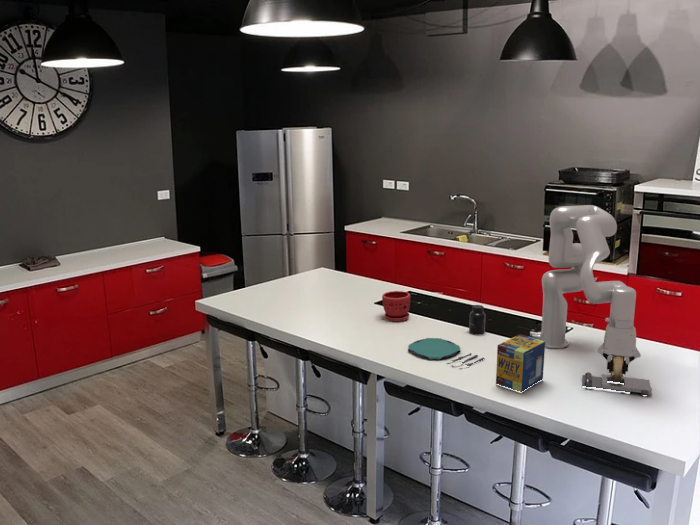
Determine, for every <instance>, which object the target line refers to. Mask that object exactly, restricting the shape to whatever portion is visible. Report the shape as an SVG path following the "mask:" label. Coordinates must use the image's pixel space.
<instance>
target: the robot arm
mask: <svg viewBox="0 0 700 525" xmlns="http://www.w3.org/2000/svg"><path fill="white" fill-rule="evenodd" d="M549 228H550V239H549V247H548V264H549V265H550V266H551V267H552V268H556V269H554V270H548V271H546V272H545V273H543V275H542V277H541V286H542V294H543V295H542V302H543V303H542V314H541V316H542V318H541V330H540V331H538V332H536V331H530V332H529V337H532V338H535V339H539V340H542V341H545V349H550V348H562V349H565V348H564V347H566V348H567V346H568V347H569V345H570V344H569V341H568V339H566V330H567V316H568V302H567V300H566V298H565V297H564V295H563V294H567V293H576V292H581V291H583V294H584V296H585V298H586V299H587V301H588V302H589V303H590V304H594V305H596V304H608V303H610V312H609V317H605V319H604V320H605V321H604V322H605V323H606V322H607V325H606V327H605V332H604V338H603V342H602V344H601V345H600V346H599V347H598V348H597V349H596V350H597V353H598V354H599V355H601V356H602V357H603V358H604V359H605V360H606V362H607V363H606V370H607V371H608V373H609V374H611V369H612V355H616V356H625V359H624V369H623V376H624V375H625V376H626V373H628V372H629V365H630V363H631V362H633V361H634V360H636V359H639V358H641V357H642V356H641V353H640V351H639V349H638V348H637V331H636V330H637V329H636V327H635V326H634V321H635V311H636V300H637V291H636V290H635V289H634V288H632V287H631V286H628V285H626V284H625V283H624V282H622V281H621V280H609V281H608V280H607V281H605V280H603V281H596V280H595V277H594V272H593V271H594V270H593V269H594V266H595V265H597V263H600V262H601V261H603V260H605V259H607V258H608V257H609V255H610V253H611V251H610V250H611V249H610V247H609V245H608V242H607V239H606V238H607V237H608V238H609V237H612V236H614V235H615V234H616V233H617V230H618V225H617V221H616V219H615V217H614V216H613V215H612V214H611V213H609V212H608V211H605V210H604V209H602V208H601V207H599V206H596V205H593V204H591V205H590V204H586V205H585V204H584V205H563V206H558V207H555V208H553V210H552V211H551V212H550V216H549ZM572 229H576V233H577V235H578V239H579V241H580V243H578V242H575V243H573V241H574V232H573V231H572ZM563 268H564V269H563ZM566 268H567V269H566Z"/></svg>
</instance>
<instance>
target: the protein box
mask: <svg viewBox="0 0 700 525" xmlns="http://www.w3.org/2000/svg"><path fill="white" fill-rule="evenodd" d="M545 349H546V347H545V341H542V340H539V339H538V338H533V336H527V335H524V334H522V333H521V334H520V333H519V334H517V335H515V336H514V337H511V338H509V339H507V340H505V341H503V342H501V343H499V344H497V350H496V351H497V352H496V369H495V370H496V372H495V373H496V375H495V385H496V384H499V385H501V386H505V387H508V388H511V389H513V390H517V391H520V392H522V391H524V390H525V389H527V388H528V387H530V386H532V385H533V384H535V383H537V382H538V381H540V380H542V379H544V366H545Z"/></svg>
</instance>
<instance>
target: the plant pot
mask: <svg viewBox="0 0 700 525" xmlns="http://www.w3.org/2000/svg"><path fill="white" fill-rule="evenodd" d="M381 297H382V298H381V300H382V307H383V311H384V317H385V319H386V320H388V321H390V322H403V321H406V320H407V319H409V317H410V313H409V311H410V307H411V294H410V293H409V292H407V291H401V290H393V291H387V292H385V293H383V294H382V296H381Z"/></svg>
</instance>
